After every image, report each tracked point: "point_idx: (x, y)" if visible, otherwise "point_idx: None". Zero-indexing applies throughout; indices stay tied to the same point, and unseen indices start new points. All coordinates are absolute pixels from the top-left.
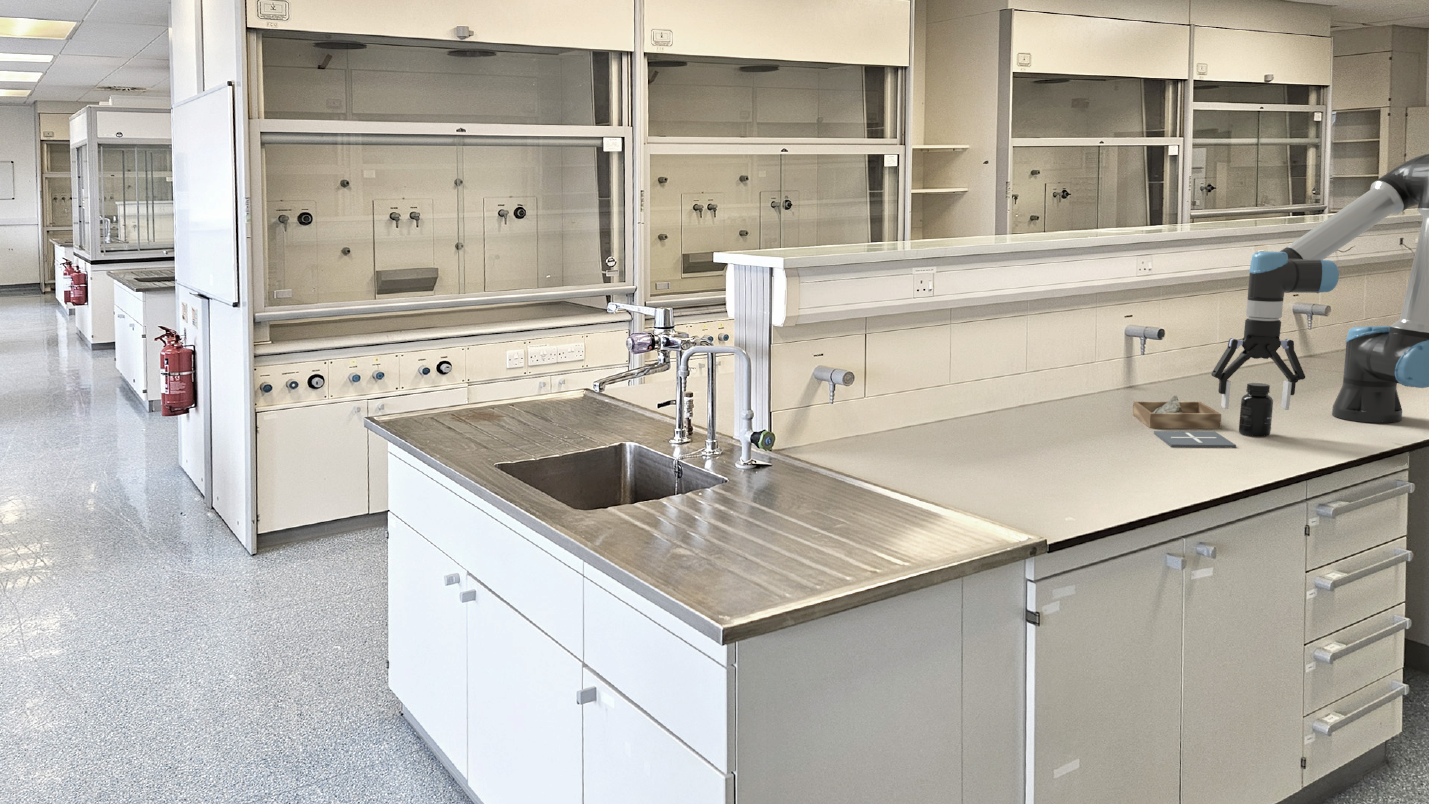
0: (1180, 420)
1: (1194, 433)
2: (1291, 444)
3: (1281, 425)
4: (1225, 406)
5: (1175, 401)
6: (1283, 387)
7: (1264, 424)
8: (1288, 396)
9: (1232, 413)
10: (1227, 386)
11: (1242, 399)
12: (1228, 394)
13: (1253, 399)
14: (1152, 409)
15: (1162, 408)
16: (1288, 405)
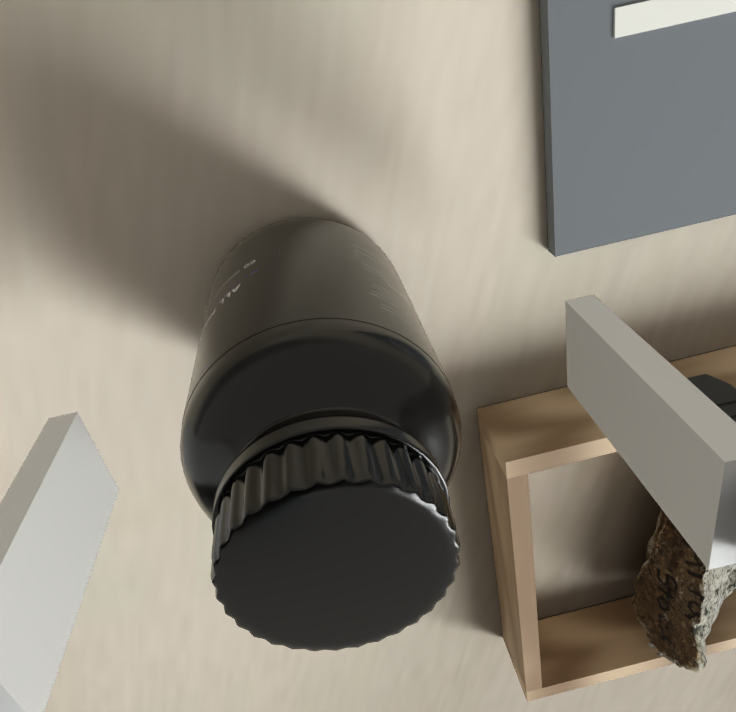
0: (723, 380)
1: (708, 153)
2: (59, 5)
3: (139, 559)
4: (600, 302)
5: (704, 610)
6: (60, 642)
7: (257, 255)
8: (18, 503)
9: (351, 703)
10: (717, 412)
11: (459, 420)
12: (643, 363)
13: (382, 357)
14: (734, 599)
15: (723, 582)
16: (42, 443)
